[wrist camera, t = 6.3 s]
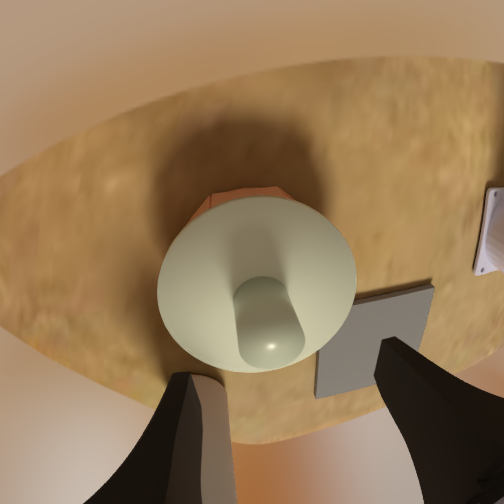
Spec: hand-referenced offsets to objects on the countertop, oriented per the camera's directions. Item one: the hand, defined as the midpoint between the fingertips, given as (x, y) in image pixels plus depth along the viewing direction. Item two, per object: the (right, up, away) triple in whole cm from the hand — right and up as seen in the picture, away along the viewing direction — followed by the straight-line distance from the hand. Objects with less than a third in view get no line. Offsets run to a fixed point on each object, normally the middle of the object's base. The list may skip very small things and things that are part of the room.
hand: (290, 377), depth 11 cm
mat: (+9, -3, +13) cm, 16 cm away
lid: (-1, +2, +6) cm, 6 cm away
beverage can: (-6, -7, +13) cm, 16 cm away
